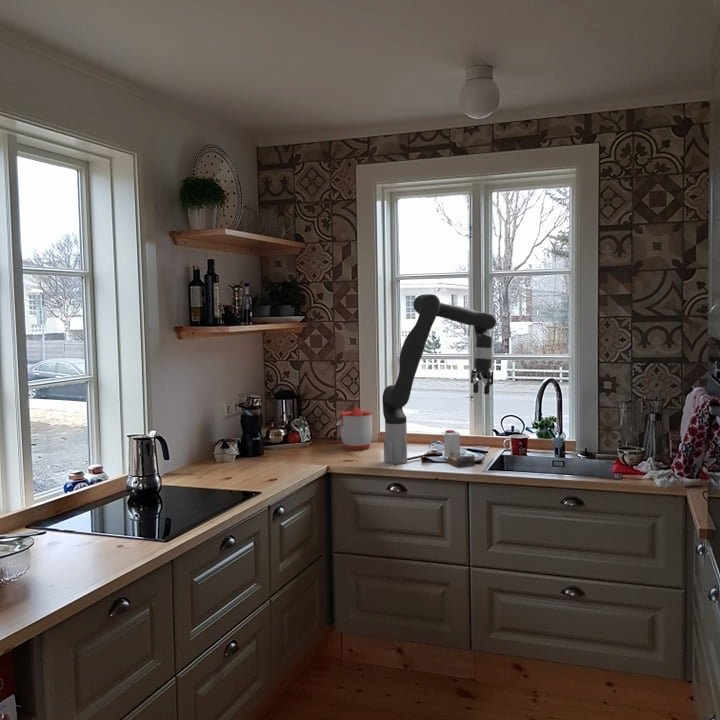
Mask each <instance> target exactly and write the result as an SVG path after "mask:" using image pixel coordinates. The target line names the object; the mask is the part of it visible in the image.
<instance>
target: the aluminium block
mask: <svg viewBox="0 0 720 720" xmlns="http://www.w3.org/2000/svg"><path fill="white" fill-rule="evenodd" d="M460 437H461V435H460V433H457V432H445V433H444V434H443V438H444V440H443V441H444V445H443V446H444V447H443V449H444V454H443V455H445V456H446V457H456V456H461V441H460V440H461V439H460ZM445 456H444V457H445Z"/></svg>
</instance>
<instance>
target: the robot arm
mask: <svg viewBox="0 0 720 720" xmlns="http://www.w3.org/2000/svg"><path fill="white" fill-rule="evenodd" d="M412 307H413V309H414V311H415V312H416V313H417V314H418V318H417V320H416V322H415V324H414V326H413V327H412V329H411V330H410V331H409V333H408V335H406V337H405V339H404V341H403V344H402V347H401V349H400V353H399V359H398V360H399V361H398V362H399V363H398V364H399V368H398V369H399V372H398V376H397V379H396V382H395V384H392V385H391V384H390V385H388V386H386V387H385V389H384V390H383V393H382V413H383V419H384V424H385V425H384V429H385V431H384V432H385V436H384V437H385V438H384V439H383V461H384V463H386V464H389V465H393V464H394V465H396V464H397V465H398V464H399V465H400V464H406V463H407V462H408V444H407V443H408V440H407V439H408V437H407V436H408V435H407V434H408V433H407V429H408V428H407V416H406V414H405V412H404V410H403V408H404V407H405V406H406V405H407V403H408V402H409V400H410V397H411V391H412V387H413V382H414V379H415V376H416V373H417V370H418V368H419V364H420V361H421V359H422V356H423V353H424V350H425V346H426V344H427V341H428V338H429V336H430V333H431V329H432V327H433V324H434V322H435V321H436V318H437V317H438V318H443V319H447V320H449V321H453V322H455V323H460V324H463V325H467V326H473V327H474V333H475V338H476V339H475V350H474V362H473V363H474V364H473V367H474V368H475V369H474V370H473V369H471V374H470V383H471V384H472V385H473V389H472V392H473V393H474V394H479V384H480V382H483V384H484V387H483V388H484V389H483V393H484V395H489V394H490V388H491V387H490V386H492V385H494V371H492V370H491V371H490V369H492V355H493V353H492V346H493V345H492V343H493V337H492V336H491V335H489V332H488V330H492V329H494V328H495V327H496V325H497V319H496V317H495V316H494V314H491V313H489V312H483V311H478V310H474V309H471V308H468V307H465V306H459V305H455V304H454V305H453V304H447V303H443V302H441V300H440V298H439V297H438V296H437V295H436V294H433V293H432V294H431V293H429V294H426V293H425V294H420V295H418V296H416V298H414V300H413V305H412Z"/></svg>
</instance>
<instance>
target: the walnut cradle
mask: <svg viewBox="0 0 720 720" xmlns="http://www.w3.org/2000/svg"><path fill="white" fill-rule="evenodd" d="M447 464H450V465H452V466H453V467H456V468H462V467H463V468H464V467H466V468H467V467H473V466H476V455H469V456H467V455H460V456H456V457H448V459H447Z"/></svg>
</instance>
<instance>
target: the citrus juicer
mask: <svg viewBox="0 0 720 720" xmlns="http://www.w3.org/2000/svg"><path fill="white" fill-rule="evenodd" d="M339 417H340V418H339V419H340V420H339V419H338V421H336V426H340V436H341V441H342V445H343V447H344V449H346V450H349V451H361V450H363V451H365V449H366V450H368V449H369V448H370V446H371V443H372V439H373V438H372V437H373V411H368V410H367V411H366V410H361V409H360V408H359V407H358V406H355V407H353V409H352V410H348V411H343V412H340V415H339Z"/></svg>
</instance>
